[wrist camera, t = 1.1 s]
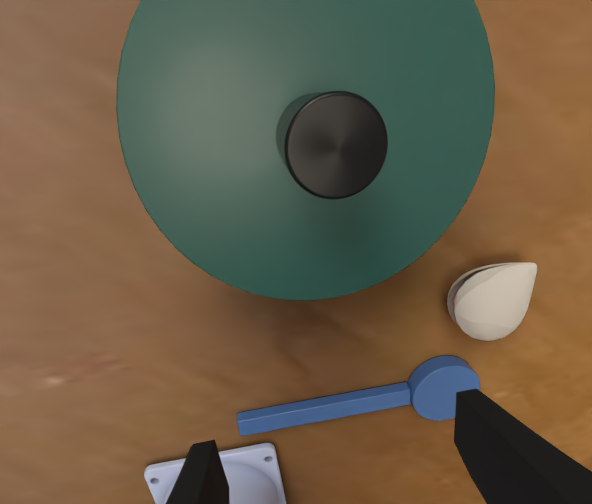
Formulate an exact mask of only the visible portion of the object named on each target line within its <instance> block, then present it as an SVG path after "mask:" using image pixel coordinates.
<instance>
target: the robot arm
mask: <svg viewBox="0 0 592 504" xmlns="http://www.w3.org/2000/svg"><path fill="white" fill-rule="evenodd" d="M454 442H455V445H456V447H457V449H458V451H459V453H460V455H461V457H462V460H463V462H464V464H465V466H466V468H467V470H468V472H469V474H470V476H471V478H472V479H473V481H474V483H475V484H476V486H477V488H478V489H479V491H480V493H481V494H482V496H483V498H484V499H485V501H486V503H487V504H592V472H591V471H590V470H588V469H587V468H585V467H584V466H582V465H581V464H579V463H578V462H576V461H575V460H573V459H572V458H570V457H569V456H567V455H566V454H564V453H563V452H562V451H560V450H559V449H557V448H556V447H555V446H553V445H552V444H550V443H549V442H548V441H546V440H545V439H543V438H542V437H541V436H539V435H538V434H536V433H535V432H534V431H532V430H531V429H529V428H528V427H527V426H525V425H524V424H523V423H521V422H520V421H519V420H517V419H516V418H515V417H513V416H512V415H511V414H509V413H508V412H507V411H505V410H504V409H503V408H501V407H500V406H499V405H498V404H496V403H495V402H494V401H492V400H491V399H490V398H488V397H487V396H486V395H484V394H483V393H482V392H480V391H479V390H478V389H476V388H475V389H470V390H465V391H460V392H456V410H455V431H454ZM267 456H269V457H267ZM144 477H145V479H146V482H147V484H148V487H149V489H150V491H151V494H152V496H153V498H154V501H155V503H156V504H286V499H285V494H284V489H283V484H282V479H281V474H280V470H279V465H278V460H277V455H276V450H275V446H274V445H273V444H271V443H263V444H257V445H252V446H247V447H241V448H236V449H231V450H226V451H220V452H218V449H217V446H216V443H215V440H211V441H206V442H201V443H196V444H193V445H192V446H191V448H190V450H189V452H188V455H187V457H186V458H184V459H178V460H173V461H168V462H163V463H157V464H152V465H149V466H148V467H146V469H145V472H144Z"/></svg>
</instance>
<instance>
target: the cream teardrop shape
mask: <svg viewBox="0 0 592 504" xmlns="http://www.w3.org/2000/svg"><path fill="white" fill-rule="evenodd" d="M536 272H537V265H536V264H535V263H500V264H493V265H486V266H483V267H480V268H476V269H473V270H471V271H469V272H467V273H465V274H463V275H461V276H460V277H459V278H458V279H457V280H456V281H455V282H454V283H453V284H452V286H451V288H450V290H449V293H448V296H447V306H448V311H449V314H450V316H451V317H452V319H453V321H454V322H455V323H456V324H458V325H459V326H460V327H461V329H462V331H463V332H465V333H466V334H468V335H469V336H470V337H472V338H476V339H480V340H487V341H492V340H496V339H500V338H504V337H505V336H507V335H508V334H510V333H511V332H513V331H514V330H515V329H516V328H517V327H518V325H519V324H520V323H521V322H522V320H523V318H524V316H525V314H526V312H527V309H528V306H529V302H530V299H531V295H532V290H533V286H534V282H535V278H536Z"/></svg>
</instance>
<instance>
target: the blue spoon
mask: <svg viewBox="0 0 592 504" xmlns="http://www.w3.org/2000/svg"><path fill="white" fill-rule="evenodd" d="M475 388H476V389H478V390H479V391H480V381H479V378H478V376H477V374H476V373H475V372H474V371H473V369H472V368H471V367H470V366H469V365H468V363H467V362H465V361H464V360H463V359H461V358H458V357H455V356H439V357H435V358H432V359H430V360H428V361H426V362H424V363H423V364H421V365H420V366H419V367H418V368H417V369H416V370H415V371H414V372H413V373H412V375H411V376H410V378H409V381H408V384H407V382H403V383H397V384H392V385H386V386H381V387H376V388H370V389H365V390H359V391H354V392H348V393H343V394H338V395H332V396H327V397H321V398H316V399H311V400H305V401H300V402H294V403H289V404H283V405H278V406H273V407H267V408H262V409H256V410H251V411H245V412H240V413H238V414H237V424H238V428H239V432H240V435H241V436H245V435H250V434H256V433H261V432H266V431H271V430H277V429H282V428H287V427H293V426H298V425H303V424H309V423H314V422H319V421H325V420H330V419H335V418H341V417H346V416H351V415H356V414H362V413H367V412H372V411H378V410H383V409H388V408H394V407H399V406H404V405H410V404H411V403H412V405H413V407H414V409H415V410H416V412H417V413H418V414H419V415H421V416H422V417H424V418H426V419H429V420H435V421H441V420H447V419H451V418H454V417H455V410H456V392H460V391H465V390H470V389H475Z"/></svg>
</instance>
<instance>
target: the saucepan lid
mask: <svg viewBox="0 0 592 504" xmlns="http://www.w3.org/2000/svg"><path fill="white" fill-rule="evenodd" d="M494 95H495V83H494V73H493V62H492V56H491V52H490V47H489V43H488V38H487V33H486V31H485V28H484V25H483V22H482V19H481V17H480V14H479V11H478V8H477V6H476V4H475V2H474V0H141V1H140V4H139V6H138V8H137V10H136V12H135V14H134V16H133V19H132V21H131V23H130V26H129V30H128V33H127V36H126V39H125V43H124V46H123V49H122V54H121V60H120V66H119V72H118V78H117V105H116V110H117V120H118V130H119V138H120V142H121V147H122V151H123V155H124V160H125V164H126V166H127V169H128V172H129V174H130V177H131V180H132V182H133V185H134V188H135V190H136V192H137V194H138V195H139V197H140V199H141V201H142V203H143V205H144V207H145V209H146V211H147V212H148V214H149V215H150V216H151V218H152V219H153V221H154V222H155V224H156V225H157V227H158V228H159V230H160V231H161V232H162V233H163V234H164V235H165V236H166V238H167V239H168V240H169V241H170V242H171V243H172V244H173V245H174V247H175V248H176V249H178V250H179V251H180V252H181V253H182V254H183V255H184V256H186V257H187V258H188V259H189V260H190V261H191V262H192V263H194V264H195V265H197V266H198V267H199V268H201V269H202V270H204V271H205V272H207V273H208V274H210V275H211V276H213V277H215V278H217V279H219V280H221V281H223V282H225V283H227V284H228V285H230V286H233V287H236V288H238V289H241V290H244V291H246V292H249V293H253V294H257V295H261V296H265V297H269V298H276V299H284V300H320V299H329V298H335V297H339V296H343V295H348V294H352V293H355V292H358V291H360V290H363V289H366V288H369V287H371V286H374V285H376V284H378V283H380V282H382V281H384V280H386V279H388V278H390V277H392V276H393V275H395V274H396V273H398V272H400V271H401V270H403V269H404V268H406V267H407V266H409V265H410V264H411V263H413V262H414V261H415V260H416V259H418V258H419V257H420V256H421V255H423V254H424V253H425V252H426V251H427V250H428V249H429V248H430V247H431V246H432V245H433V244H434V243H435V242H436V241H437V240H438V239H439V238H440V237H441V236H442V234H443V233H444V232H445V231H446V230H447V228H448V227H449V226H450V225H451V223H452V222H453V221H454V219H455V218H456V216H457V215H458V213H459V212H460V210H461V209H462V207H463V206H464V204H465V203H466V201H467V199H468V197H469V195H470V193H471V191H472V189H473V187H474V185H475V183H476V181H477V178H478V175H479V173H480V170H481V168H482V165H483V162H484V160H485V156H486V152H487V148H488V144H489V140H490V136H491V130H492V123H493V115H494Z"/></svg>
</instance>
